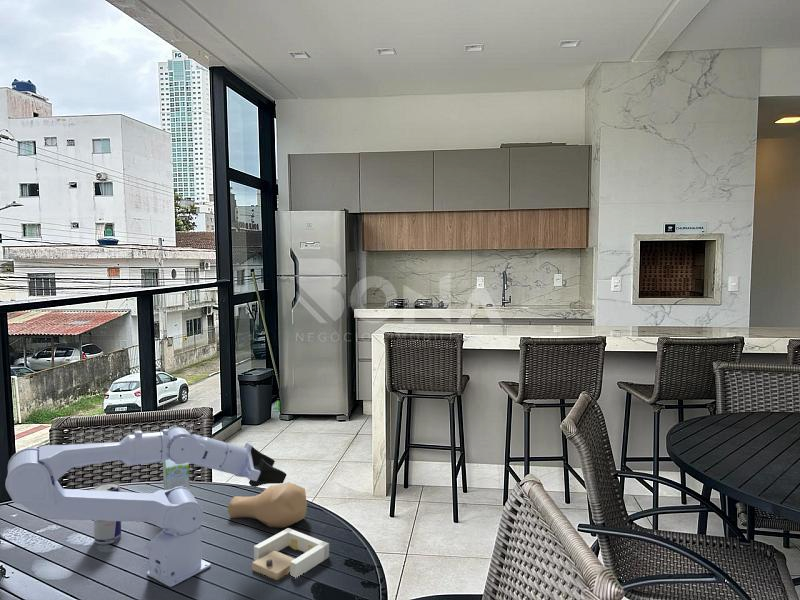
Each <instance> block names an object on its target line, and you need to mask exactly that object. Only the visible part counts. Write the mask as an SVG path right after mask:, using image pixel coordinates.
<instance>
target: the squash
mask: <svg viewBox="0 0 800 600" xmlns="http://www.w3.org/2000/svg"><path fill="white" fill-rule="evenodd" d="M307 508H308V499H307V494H306V489H305V487H302V486H300V485H297V484H296V483H292V482H289V481H287V482H285V483H284V482H283V483H280V484H275V485H270V486H268V487H267V488H265V489H264V490H263V491H262V492H261V493H259V494H256V495H252V496H240V495H239V496H238V495H236V496H233V497H232V499H231V500H230V502H229V503H228V506H227V513H228V514H229V516H230V517H231V519H235V518H252V519H256V520H258V521H260V522H261V523H262V524H263V525H266V526H267V527H269V528H279V529H280V528H282V529H285V528H288V527H289V526H292V525H293V524H295V523H298V522H300V521H301V520H303V519H304V518H306V516H307V515H306V514H307Z"/></svg>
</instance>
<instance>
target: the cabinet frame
mask: <svg viewBox="0 0 800 600" xmlns="http://www.w3.org/2000/svg"><path fill="white" fill-rule="evenodd" d="M286 547H290V549H293V550H294V551H297V550H298V551H301V552H303V554H300V555H299V556H297V557H296V558H294V560H292V561H291V562H290V573H289V574H290V575H291V576H293V577H295V578H294V579H297V578H299V577H301V576H302V575H303V573H304V574H305V573H307V572H308V571H310V570H311V569H313V568H314V567H316V566H317V565H319V564H320V563H323V562H324V561H325V560H327V559H328V558H330V543H329V542H326V541H324V540H320V539H318V538H316V537H313V536H310V535H308V534H306V533H303V532H299V530H298V531H297V530H295V529H292V528H289V527H286V528H284V530H282V531H280V532H278V533H276V534H274V535H272V536H271V537H268V538H267V539H265V540H263V541H261V542H258V544H255V545H254V546H253V561H256V560H257V559H259V558H261V557H263V556H264V555H266V554H268V553H269V552H271V551H273V550H275V551H277V552H280V551H281V550H284V549H285V548H286ZM290 575H289V576H290ZM300 575H301V576H300ZM291 576H290V577H291ZM298 576H299V577H298ZM293 577H292V578H293ZM296 577H297V578H296Z"/></svg>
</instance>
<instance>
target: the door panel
mask: <svg viewBox="0 0 800 600" xmlns="http://www.w3.org/2000/svg"><path fill="white" fill-rule="evenodd" d="M294 559H295V558H294V557H291V556H289V555H286V554H284V553H282V552H280V551H278V552H277V551H275V550H273V551H271V552H269V553H268V554H266V555H264V556H263V557H261V558H259V559H257V560H256V561H255V560H253V561H252V562H251V567H252V568H251V570H252V571H254V572H256V573H258V574H260V573H261V574H260V575H262V574H263V575H262V576H264V575H266V576H265V577H267V576H268V577H267V578H269V577H270V578H269V579H271V578H273V579H275V580H278V579H279V580H281V579H282V578H284V577H285V576H284V575H286V574H287V575H289V574H290V573H289V572H290V562H291V561H292V560H294ZM288 573H289V574H288ZM287 575H286V576H287ZM283 576H284V577H283ZM281 577H282V578H281ZM280 578H281V579H280ZM273 579H272V580H273ZM275 580H274V581H275ZM279 580H278V581H279Z"/></svg>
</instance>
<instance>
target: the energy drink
mask: <svg viewBox="0 0 800 600" xmlns="http://www.w3.org/2000/svg"><path fill="white" fill-rule="evenodd" d="M93 490H95V491H113V492H122V491H121V487H120V484H119V483H118V482H105V483H104V482H103V483H102V484H98V485H96V486H95V487H94V489H93ZM93 530H94V531H93V533H94V535H93V537H94V538H93V539H94V542H95V543H96V545H97V544H98V545H99V546H100V545H101V546H103V545H106V546H107V545H111V544H113V543H116V542H118V541H119V539H121V537H122V521H96V520H93Z"/></svg>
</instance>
